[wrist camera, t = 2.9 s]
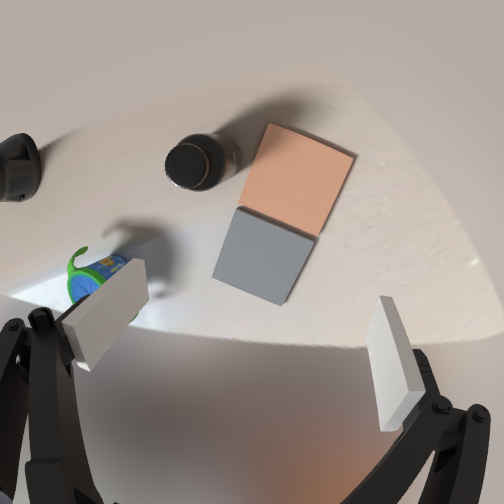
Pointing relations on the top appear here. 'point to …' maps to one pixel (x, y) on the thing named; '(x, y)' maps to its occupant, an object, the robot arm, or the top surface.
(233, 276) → the slate pad
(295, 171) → the terracotta pad
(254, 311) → the top surface
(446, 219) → the top surface
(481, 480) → the robot arm
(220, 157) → the supplement bottle
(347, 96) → the top surface
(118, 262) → the snack cup
